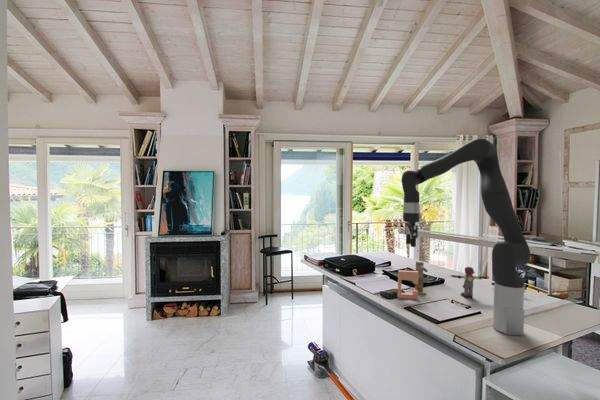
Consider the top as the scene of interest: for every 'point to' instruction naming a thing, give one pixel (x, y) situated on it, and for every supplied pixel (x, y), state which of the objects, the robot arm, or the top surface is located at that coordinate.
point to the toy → (468, 282)
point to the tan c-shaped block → (407, 276)
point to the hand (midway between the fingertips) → (410, 245)
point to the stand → (420, 278)
